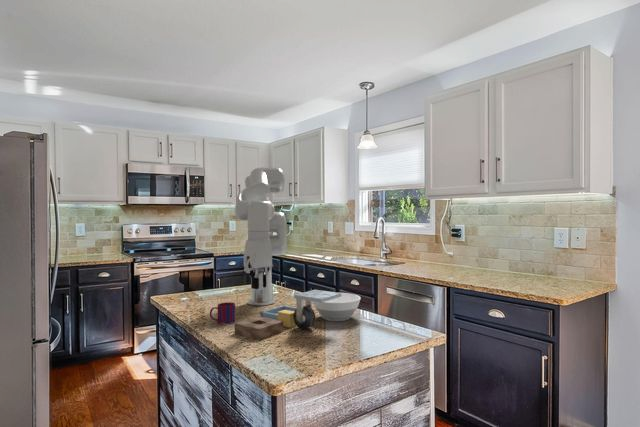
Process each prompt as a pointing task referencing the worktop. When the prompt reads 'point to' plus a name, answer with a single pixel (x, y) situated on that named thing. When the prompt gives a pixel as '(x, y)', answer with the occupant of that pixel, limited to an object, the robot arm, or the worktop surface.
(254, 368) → the worktop surface
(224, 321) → the mug
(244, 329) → the socket block
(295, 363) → the worktop surface
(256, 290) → the pin
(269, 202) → the robot arm
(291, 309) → the tray
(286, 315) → the block
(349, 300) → the bowl
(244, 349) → the worktop surface
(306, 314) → the caster wheel
